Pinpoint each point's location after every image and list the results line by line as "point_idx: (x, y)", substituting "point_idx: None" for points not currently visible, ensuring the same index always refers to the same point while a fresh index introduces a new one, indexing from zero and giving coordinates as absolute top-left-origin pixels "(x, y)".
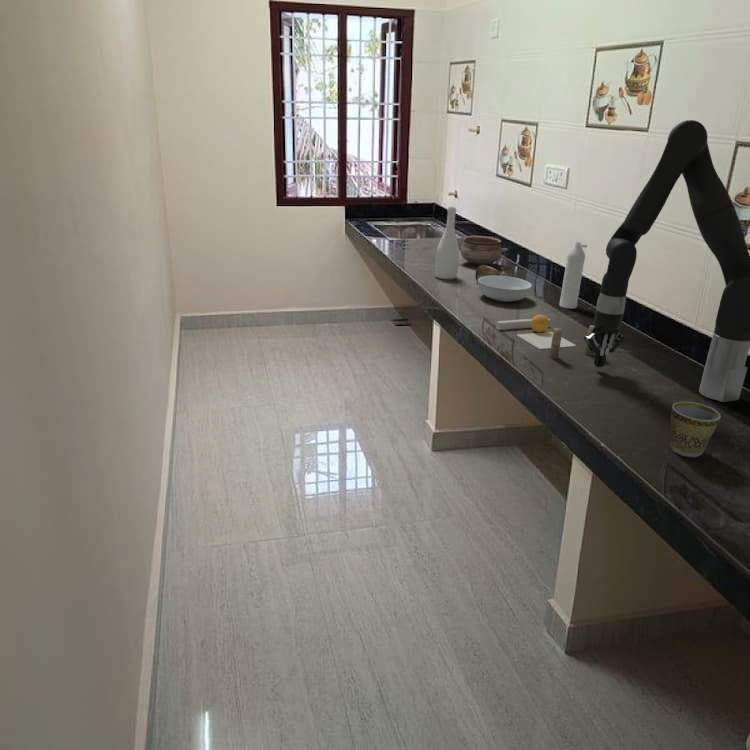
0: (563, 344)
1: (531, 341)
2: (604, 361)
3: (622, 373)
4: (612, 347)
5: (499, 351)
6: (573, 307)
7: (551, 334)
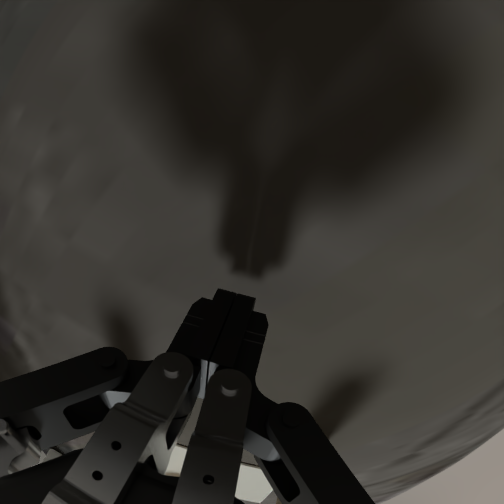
0: (178, 453)
1: (260, 488)
2: (194, 317)
3: (116, 188)
4: (91, 391)
5: (408, 485)
6: (56, 452)
7: (165, 472)
